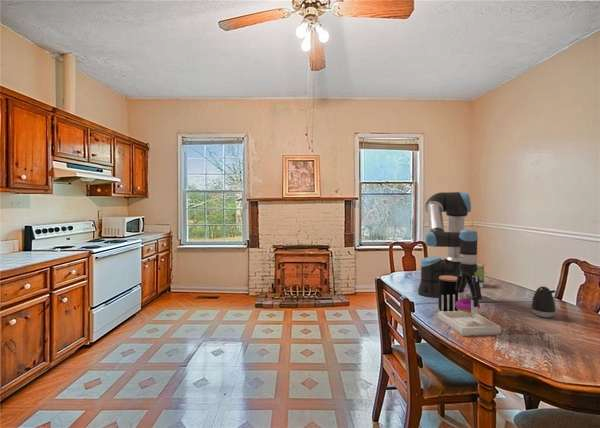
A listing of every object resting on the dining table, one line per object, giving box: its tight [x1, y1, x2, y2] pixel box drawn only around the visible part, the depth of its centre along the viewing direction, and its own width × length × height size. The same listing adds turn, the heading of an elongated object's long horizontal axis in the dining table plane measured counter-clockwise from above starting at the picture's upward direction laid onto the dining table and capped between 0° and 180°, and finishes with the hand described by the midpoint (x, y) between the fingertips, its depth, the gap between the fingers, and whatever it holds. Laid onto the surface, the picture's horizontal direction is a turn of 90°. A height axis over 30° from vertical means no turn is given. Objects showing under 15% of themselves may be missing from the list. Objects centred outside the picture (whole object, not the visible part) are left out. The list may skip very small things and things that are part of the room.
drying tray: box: [437, 311, 502, 337], centre depth 161 cm, size 22×18×4 cm
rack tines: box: [440, 293, 467, 312], centre depth 173 cm, size 2×16×12 cm, turn 95°
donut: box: [455, 298, 481, 313], centre depth 161 cm, size 10×10×5 cm
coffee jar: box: [438, 275, 458, 311], centre depth 183 cm, size 11×11×18 cm
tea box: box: [465, 263, 485, 289], centre depth 236 cm, size 15×10×15 cm, turn 58°
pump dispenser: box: [530, 286, 557, 319], centre depth 174 cm, size 10×10×15 cm
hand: (467, 309), depth 161 cm, fingers closed on donut, 10 cm apart
